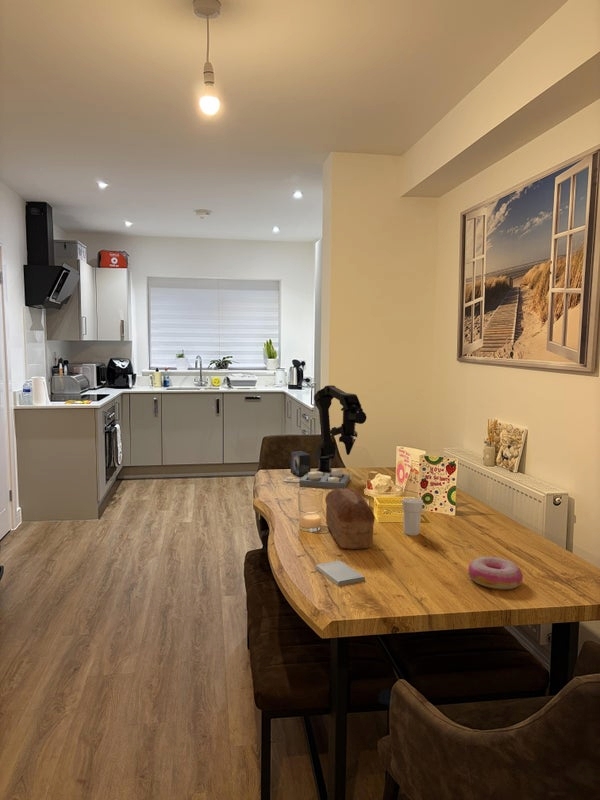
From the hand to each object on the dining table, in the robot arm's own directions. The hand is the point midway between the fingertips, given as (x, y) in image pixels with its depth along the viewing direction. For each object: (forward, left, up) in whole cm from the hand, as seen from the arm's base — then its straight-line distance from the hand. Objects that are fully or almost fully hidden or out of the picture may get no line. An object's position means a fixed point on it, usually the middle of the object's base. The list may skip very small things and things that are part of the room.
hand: (348, 454), depth 255 cm
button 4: (+4, -4, -10) cm, 11 cm away
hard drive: (+109, +13, -13) cm, 111 cm away
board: (+8, -13, -12) cm, 20 cm away
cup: (+69, +31, -12) cm, 77 cm away
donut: (+103, +53, -12) cm, 116 cm away
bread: (+78, +11, -12) cm, 80 cm away
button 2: (+3, -14, -12) cm, 18 cm away
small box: (-6, -24, -12) cm, 28 cm away
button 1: (+12, -13, -10) cm, 21 cm away
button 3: (+13, -5, -12) cm, 18 cm away
